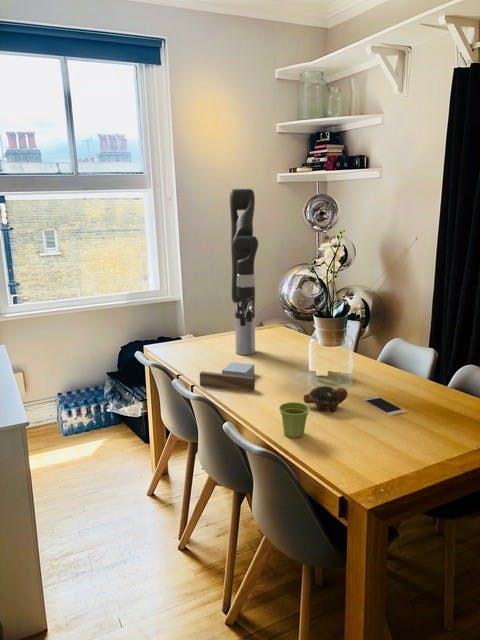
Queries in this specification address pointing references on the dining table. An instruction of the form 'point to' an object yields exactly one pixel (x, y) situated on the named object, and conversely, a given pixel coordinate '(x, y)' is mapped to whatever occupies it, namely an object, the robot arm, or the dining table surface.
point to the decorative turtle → (326, 397)
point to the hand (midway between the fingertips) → (246, 323)
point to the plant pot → (294, 418)
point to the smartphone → (384, 405)
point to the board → (227, 381)
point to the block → (239, 369)
